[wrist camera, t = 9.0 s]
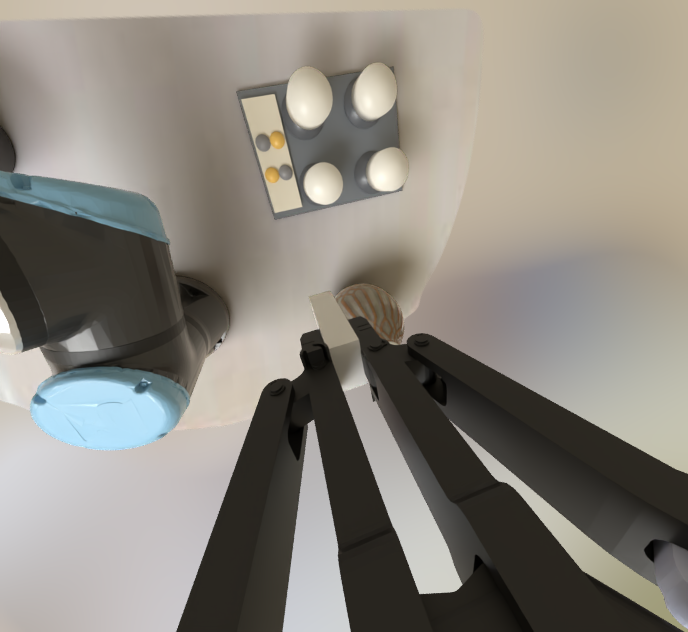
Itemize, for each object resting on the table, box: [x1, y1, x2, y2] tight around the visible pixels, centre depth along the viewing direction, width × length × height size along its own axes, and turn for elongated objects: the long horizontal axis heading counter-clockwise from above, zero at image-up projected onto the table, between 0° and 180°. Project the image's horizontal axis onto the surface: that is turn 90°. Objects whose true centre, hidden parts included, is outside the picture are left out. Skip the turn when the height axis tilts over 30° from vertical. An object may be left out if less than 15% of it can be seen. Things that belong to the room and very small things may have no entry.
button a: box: [303, 162, 343, 205], centre depth 37 cm, size 5×5×5 cm
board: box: [237, 67, 402, 220], centre depth 38 cm, size 22×16×2 cm
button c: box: [366, 147, 409, 191], centre depth 37 cm, size 5×5×5 cm
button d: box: [351, 63, 397, 121], centre depth 34 cm, size 5×5×5 cm
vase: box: [334, 283, 404, 345], centre depth 44 cm, size 13×13×18 cm
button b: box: [286, 66, 333, 130], centre depth 31 cm, size 5×5×5 cm
